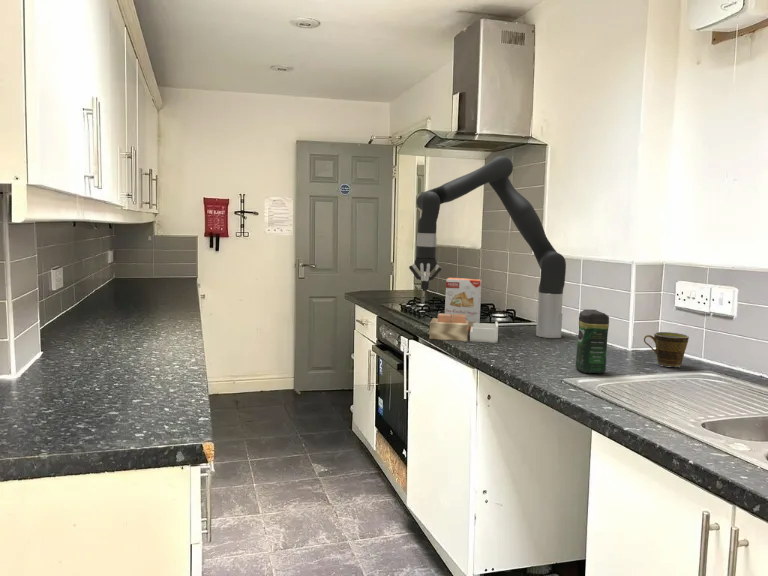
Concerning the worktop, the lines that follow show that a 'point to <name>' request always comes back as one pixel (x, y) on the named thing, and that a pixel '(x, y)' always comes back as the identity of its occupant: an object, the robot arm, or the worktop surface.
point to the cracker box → (464, 298)
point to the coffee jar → (592, 341)
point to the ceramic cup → (669, 348)
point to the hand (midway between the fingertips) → (424, 290)
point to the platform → (448, 330)
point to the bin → (484, 332)
